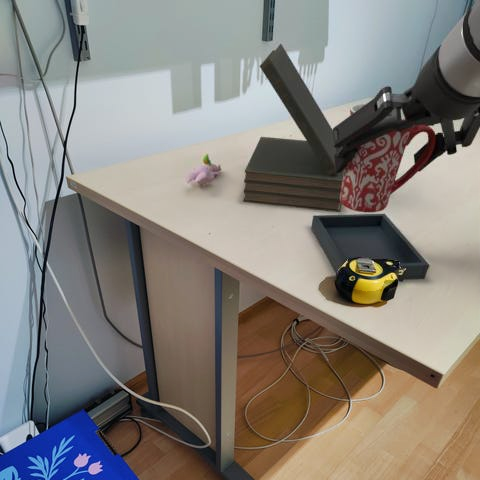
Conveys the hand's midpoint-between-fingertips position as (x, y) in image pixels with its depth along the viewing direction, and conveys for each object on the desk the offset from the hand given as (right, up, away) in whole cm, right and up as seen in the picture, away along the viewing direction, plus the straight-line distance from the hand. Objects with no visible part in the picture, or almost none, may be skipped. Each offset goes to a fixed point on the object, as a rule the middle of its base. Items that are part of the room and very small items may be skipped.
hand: (377, 163), depth 65 cm
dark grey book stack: (-9, +6, +29) cm, 31 cm away
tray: (0, -12, +7) cm, 14 cm away
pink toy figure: (-29, +6, +28) cm, 40 cm away
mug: (0, -6, +2) cm, 6 cm away
